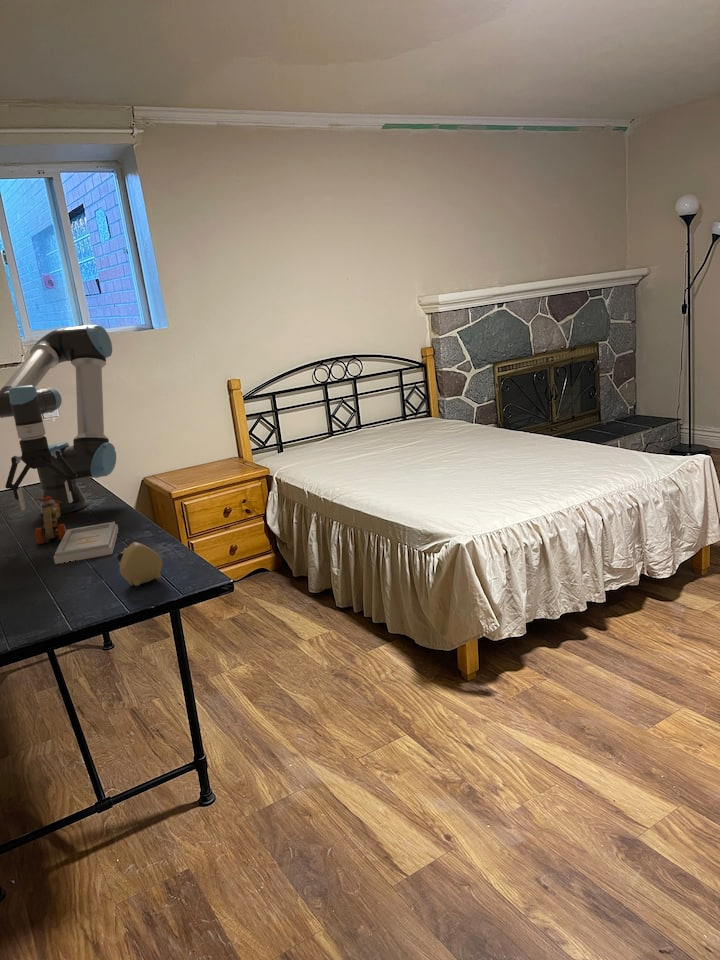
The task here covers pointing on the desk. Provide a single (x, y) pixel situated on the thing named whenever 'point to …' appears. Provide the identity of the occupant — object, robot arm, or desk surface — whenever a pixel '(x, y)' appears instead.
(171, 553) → the desk surface
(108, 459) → the robot arm
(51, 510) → the toy helicopter
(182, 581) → the desk surface
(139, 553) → the toy pig
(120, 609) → the desk surface
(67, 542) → the plate
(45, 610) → the desk surface
